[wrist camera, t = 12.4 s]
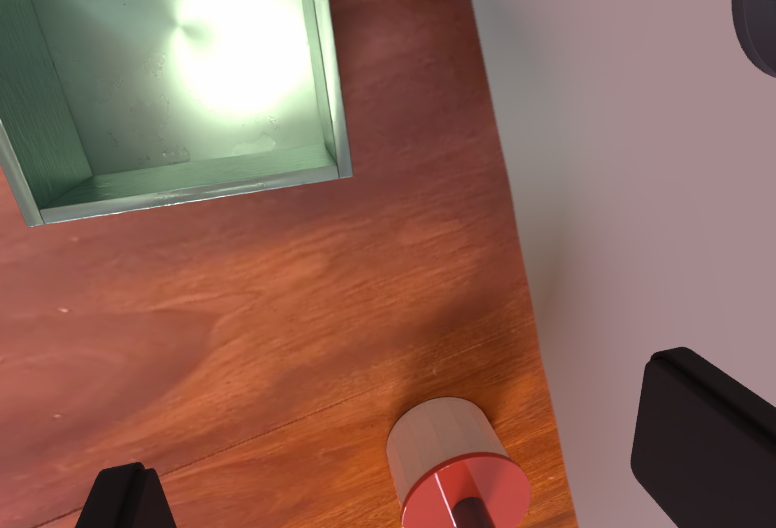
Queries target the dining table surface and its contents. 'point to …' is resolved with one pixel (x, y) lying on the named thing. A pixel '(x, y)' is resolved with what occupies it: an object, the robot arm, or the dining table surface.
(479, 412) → the pot
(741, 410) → the robot arm
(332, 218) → the dining table surface
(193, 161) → the open box
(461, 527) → the pot lid
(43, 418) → the dining table surface
